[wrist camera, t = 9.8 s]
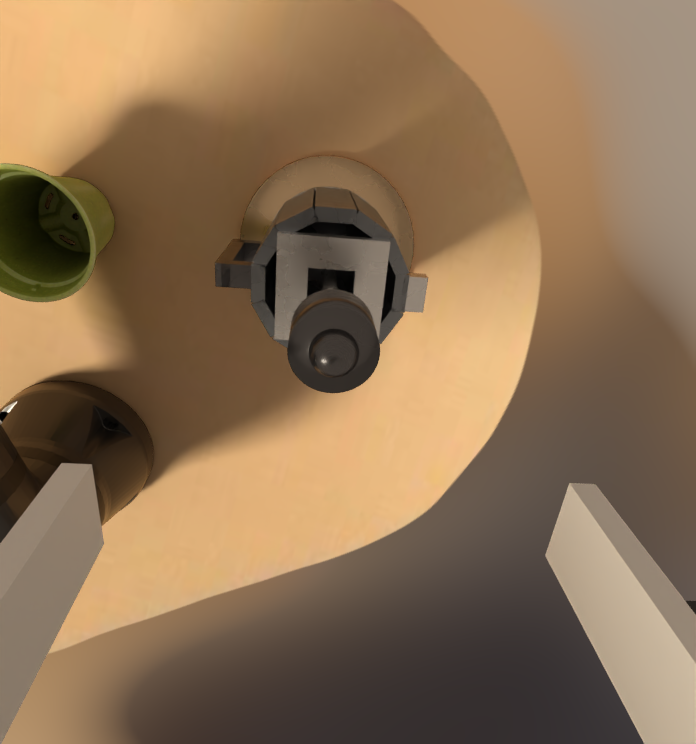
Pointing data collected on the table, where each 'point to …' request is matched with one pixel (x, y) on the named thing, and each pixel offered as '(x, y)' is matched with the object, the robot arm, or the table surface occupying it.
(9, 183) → the plant pot
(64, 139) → the table surface
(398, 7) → the table surface
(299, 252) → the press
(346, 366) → the plunger
